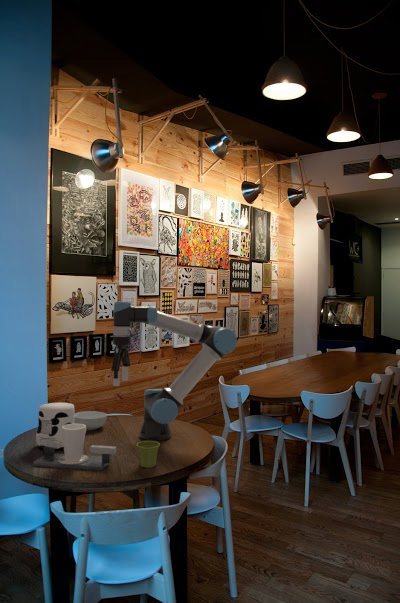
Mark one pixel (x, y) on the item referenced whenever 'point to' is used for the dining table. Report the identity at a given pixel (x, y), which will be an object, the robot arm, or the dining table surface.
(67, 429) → the foam cup
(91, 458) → the shaft stand
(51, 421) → the milk container
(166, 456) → the dining table surface
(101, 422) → the cereal bowl
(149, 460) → the plant pot
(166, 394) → the robot arm
